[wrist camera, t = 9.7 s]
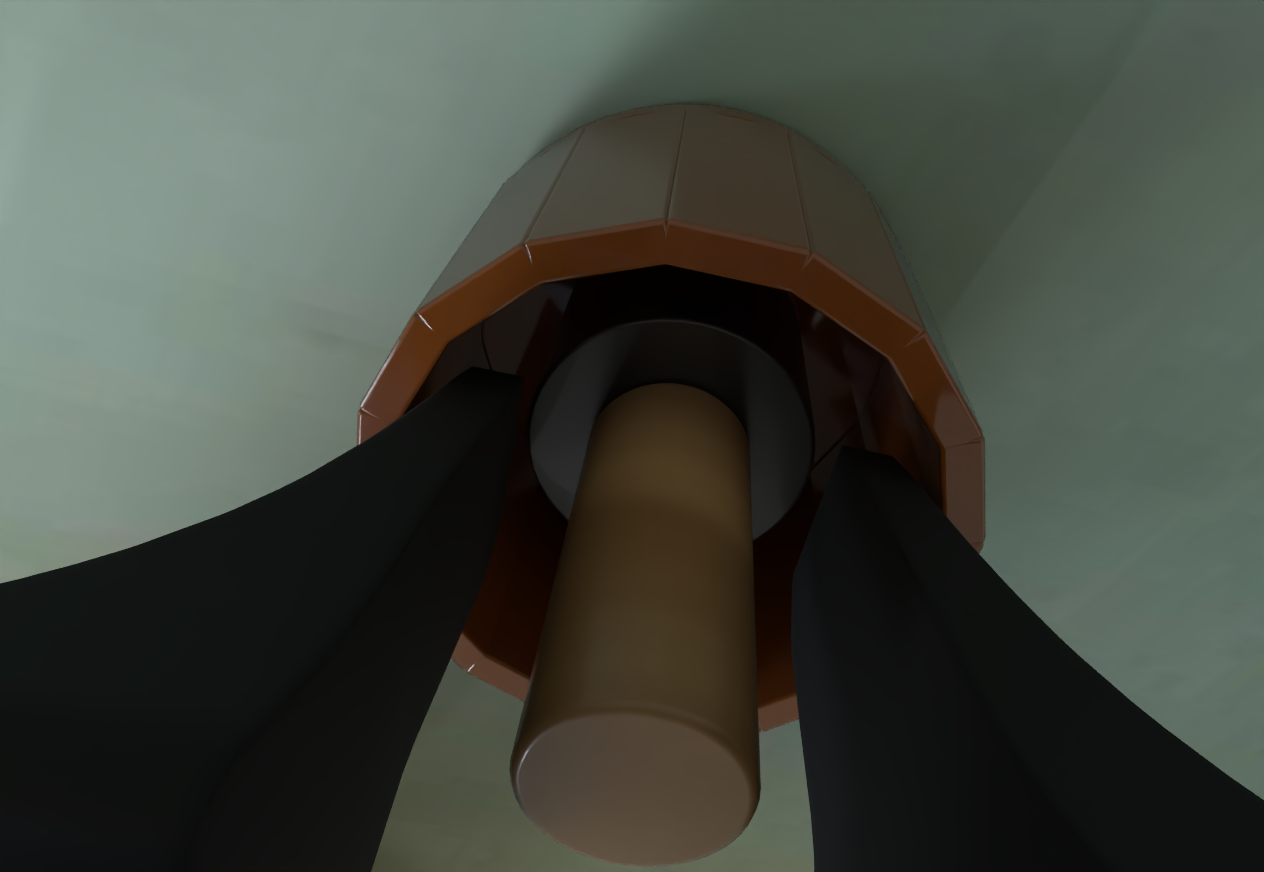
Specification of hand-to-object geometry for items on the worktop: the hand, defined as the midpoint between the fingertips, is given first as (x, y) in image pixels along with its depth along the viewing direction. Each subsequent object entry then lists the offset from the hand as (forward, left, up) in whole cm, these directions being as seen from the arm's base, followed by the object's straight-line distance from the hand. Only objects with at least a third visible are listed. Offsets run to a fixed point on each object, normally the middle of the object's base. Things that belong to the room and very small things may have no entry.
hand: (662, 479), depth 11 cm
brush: (0, 0, -3) cm, 4 cm away
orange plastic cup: (0, 0, -4) cm, 4 cm away
